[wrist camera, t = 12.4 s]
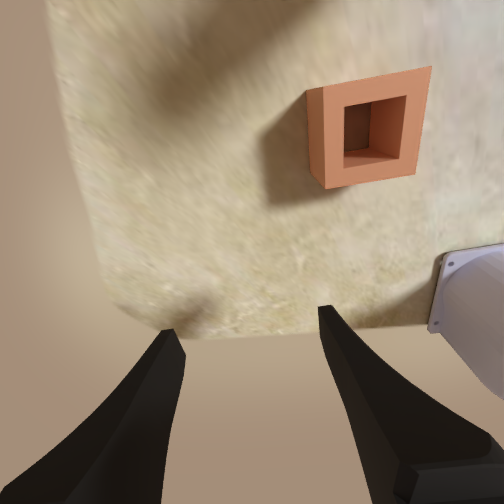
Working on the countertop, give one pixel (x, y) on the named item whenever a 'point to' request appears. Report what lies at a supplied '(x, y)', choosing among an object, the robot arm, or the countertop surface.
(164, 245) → the countertop surface
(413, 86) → the collar
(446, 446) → the robot arm
